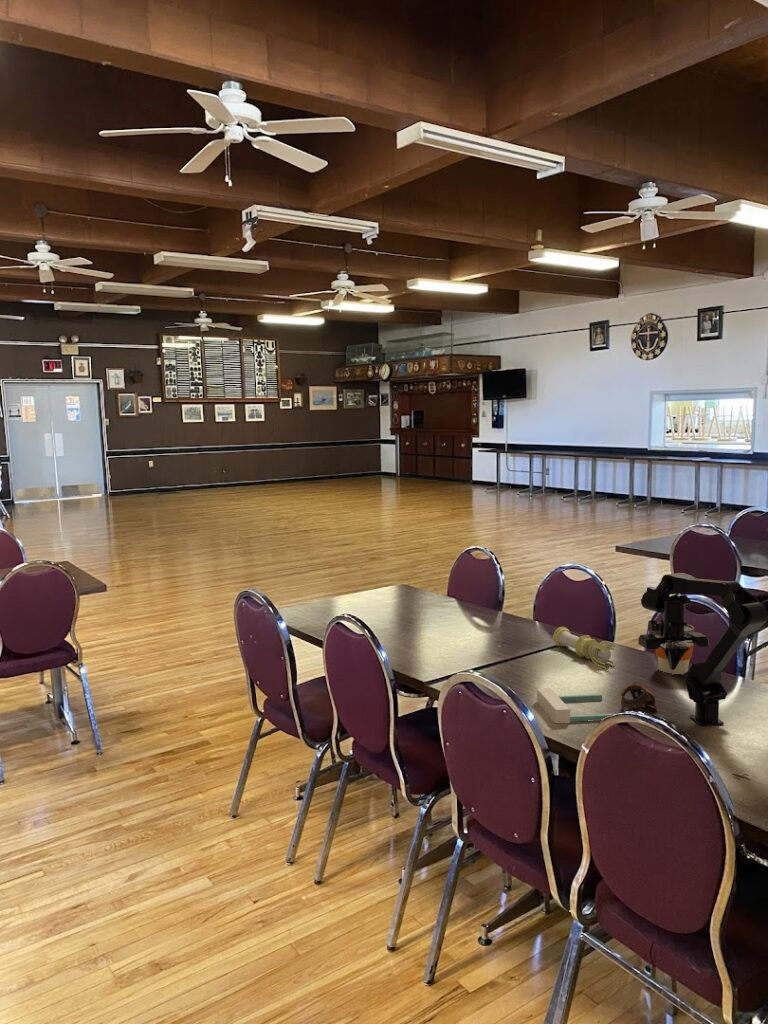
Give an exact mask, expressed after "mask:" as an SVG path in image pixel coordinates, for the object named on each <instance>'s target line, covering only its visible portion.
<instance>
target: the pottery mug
mask: <svg viewBox="0 0 768 1024" xmlns="http://www.w3.org/2000/svg"><path fill="white" fill-rule="evenodd" d="M629 692H630V695H631V697H632V699H628V698H626V697H625V696H626V694H627V693H629ZM620 695H621V700H620V706H621V708H622V710H625V709H631V710H632V709H637V708H646V706H651V707H653V708H654V710H655V712H656V711H657V712H658V705H657V702H656V698H655V696H654V694H653V692H652V691H651V690H650V689H648V688H646V687H645V686H644V685H642V684H640V683H639V684H638V683H637V682H634V683H632V684H630V685H628V686H626V687H625V688H624V689H623V690H622V692H621V694H620Z"/></svg>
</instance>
